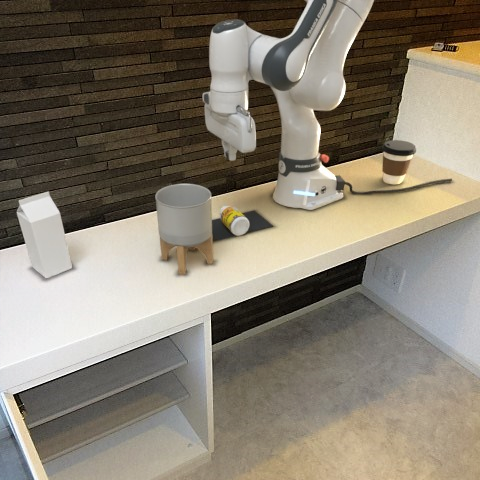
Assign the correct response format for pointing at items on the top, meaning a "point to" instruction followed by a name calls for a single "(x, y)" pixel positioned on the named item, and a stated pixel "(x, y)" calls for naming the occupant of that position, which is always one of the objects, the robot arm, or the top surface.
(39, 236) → the milk carton
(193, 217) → the planter
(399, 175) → the coffee cup
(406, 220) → the top surface
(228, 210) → the supplement bottle
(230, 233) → the rubber mat
